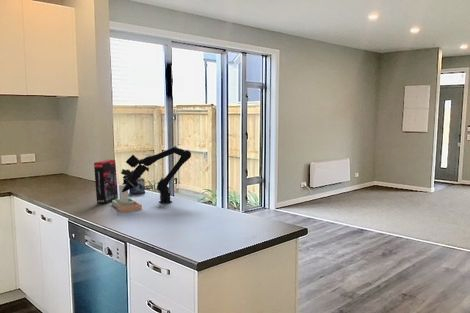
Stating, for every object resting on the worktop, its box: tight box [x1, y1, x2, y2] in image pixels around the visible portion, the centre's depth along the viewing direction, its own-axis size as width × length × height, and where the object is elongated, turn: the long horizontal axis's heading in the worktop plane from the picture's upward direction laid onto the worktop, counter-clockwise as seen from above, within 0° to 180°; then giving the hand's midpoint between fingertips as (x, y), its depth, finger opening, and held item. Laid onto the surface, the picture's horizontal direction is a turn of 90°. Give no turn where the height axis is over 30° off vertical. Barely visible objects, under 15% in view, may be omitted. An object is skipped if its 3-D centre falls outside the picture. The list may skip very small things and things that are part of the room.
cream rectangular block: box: [118, 183, 129, 203], centre depth 252 cm, size 4×6×11 cm
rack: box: [111, 197, 143, 213], centre depth 248 cm, size 23×12×3 cm, turn 31°
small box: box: [128, 177, 146, 195], centre depth 290 cm, size 11×6×10 cm, turn 112°
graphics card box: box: [93, 159, 119, 205], centre depth 263 cm, size 17×7×27 cm, turn 168°
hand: (121, 191), depth 251 cm, fingers closed on cream rectangular block, 5 cm apart
